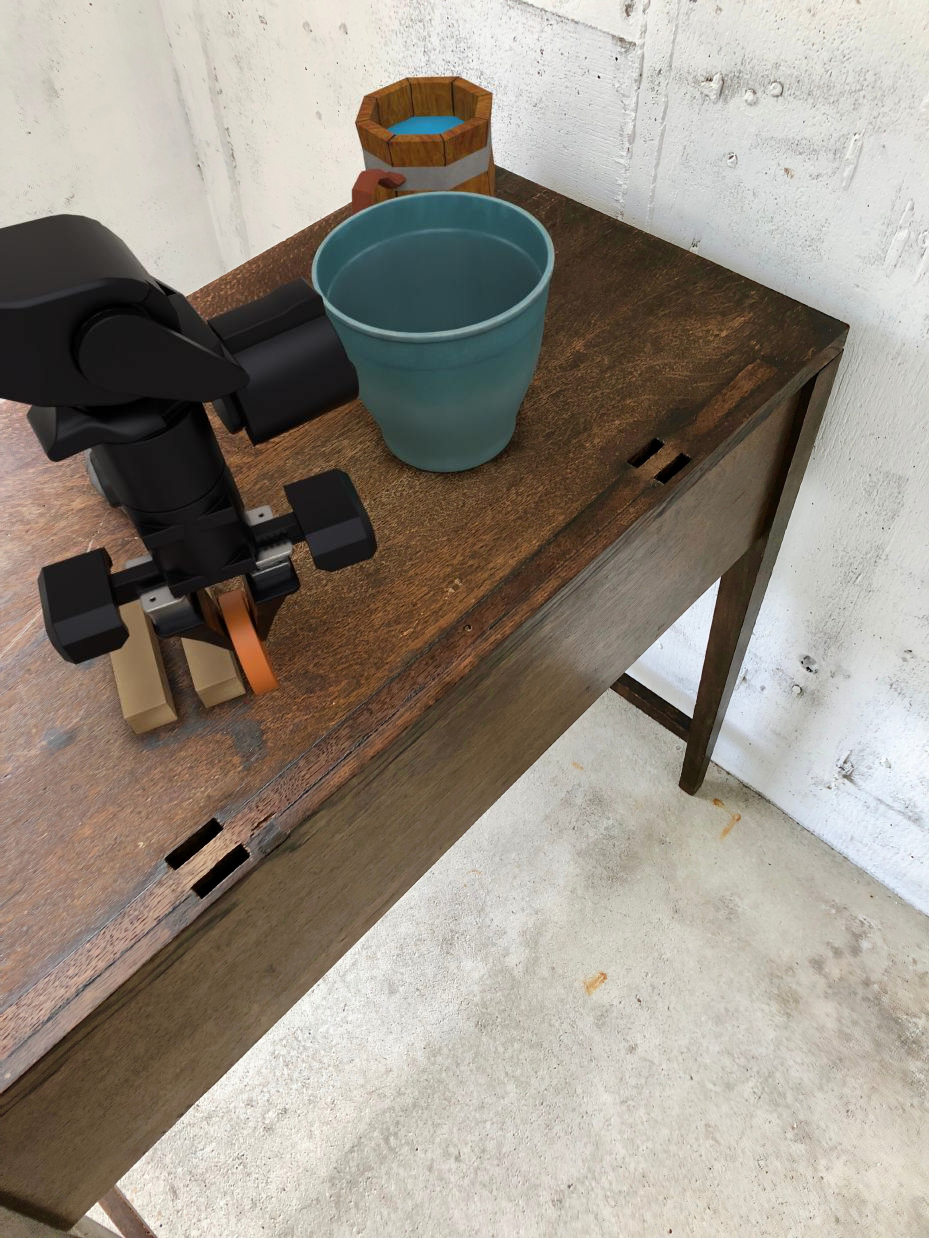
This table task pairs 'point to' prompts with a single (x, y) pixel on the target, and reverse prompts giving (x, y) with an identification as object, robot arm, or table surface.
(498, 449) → the flower pot
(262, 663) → the disc
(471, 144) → the mug
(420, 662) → the table surface
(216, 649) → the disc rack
